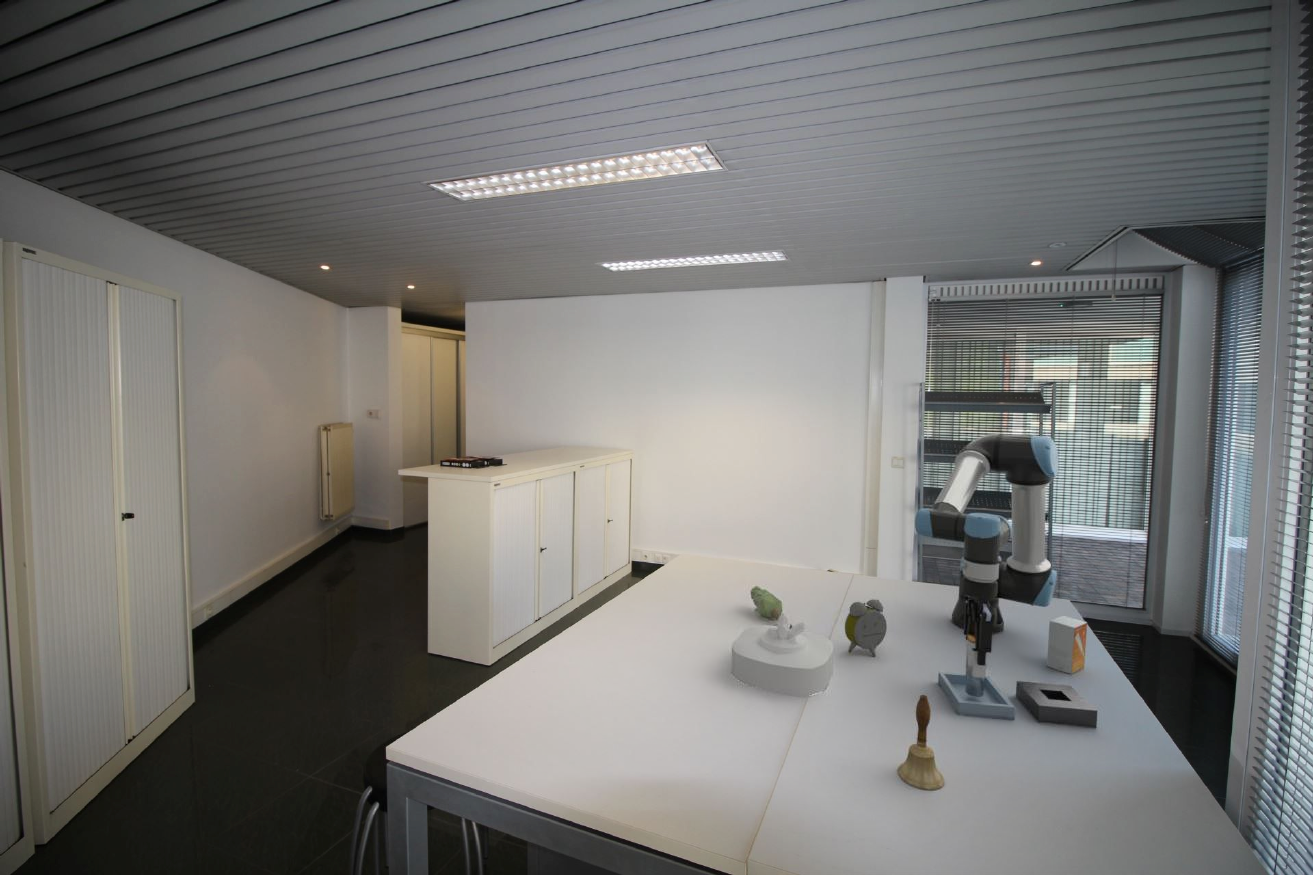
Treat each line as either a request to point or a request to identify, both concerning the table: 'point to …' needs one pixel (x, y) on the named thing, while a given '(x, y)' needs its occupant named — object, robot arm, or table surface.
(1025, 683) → the block
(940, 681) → the tray
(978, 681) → the steel pin
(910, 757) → the hand bell
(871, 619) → the alarm clock
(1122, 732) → the table surface
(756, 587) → the decorative object
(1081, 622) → the small box
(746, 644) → the tissue box
